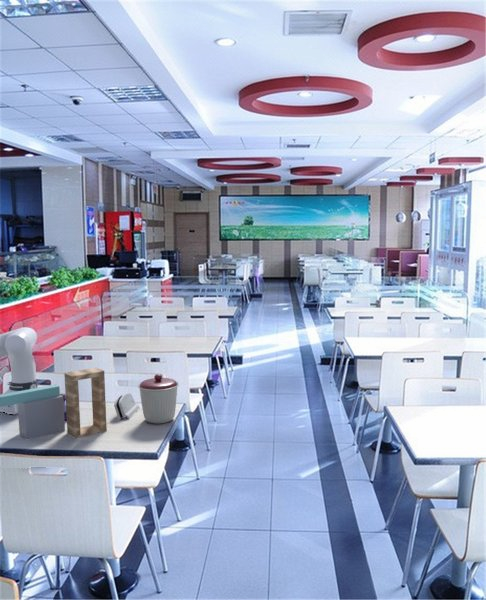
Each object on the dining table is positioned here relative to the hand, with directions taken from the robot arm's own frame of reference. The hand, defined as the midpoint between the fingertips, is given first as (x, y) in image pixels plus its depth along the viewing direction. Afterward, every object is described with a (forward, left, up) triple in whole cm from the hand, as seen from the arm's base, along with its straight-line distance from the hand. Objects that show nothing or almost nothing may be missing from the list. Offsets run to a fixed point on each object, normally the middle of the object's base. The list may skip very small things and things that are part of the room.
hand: (3, 365), depth 221 cm
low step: (+6, +13, -31) cm, 34 cm away
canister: (+43, +46, -31) cm, 70 cm away
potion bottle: (+2, +28, -31) cm, 42 cm away
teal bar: (+4, +9, -16) cm, 19 cm away
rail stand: (+23, +21, -31) cm, 44 cm away
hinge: (+23, +48, -31) cm, 62 cm away
